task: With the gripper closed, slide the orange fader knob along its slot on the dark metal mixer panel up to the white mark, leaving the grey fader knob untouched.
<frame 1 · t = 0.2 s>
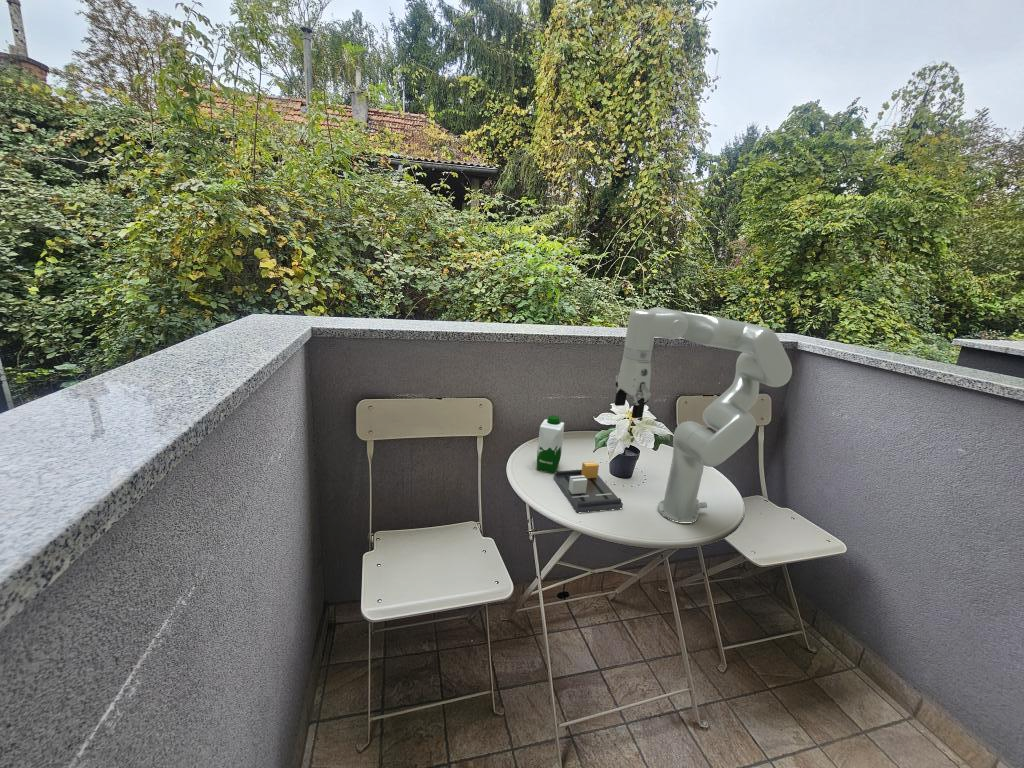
hand: (627, 411, 128), 36 cm above the table, tool pointing down, fingers open, 9 cm apart
milk carton: (547, 468, 169), on the table
fader a: (589, 469, 159), point 5 cm above the table, slide at 0.0 cm
panel: (586, 492, 153), on the table
fader b: (577, 484, 149), point 5 cm above the table, slide at 9.0 cm
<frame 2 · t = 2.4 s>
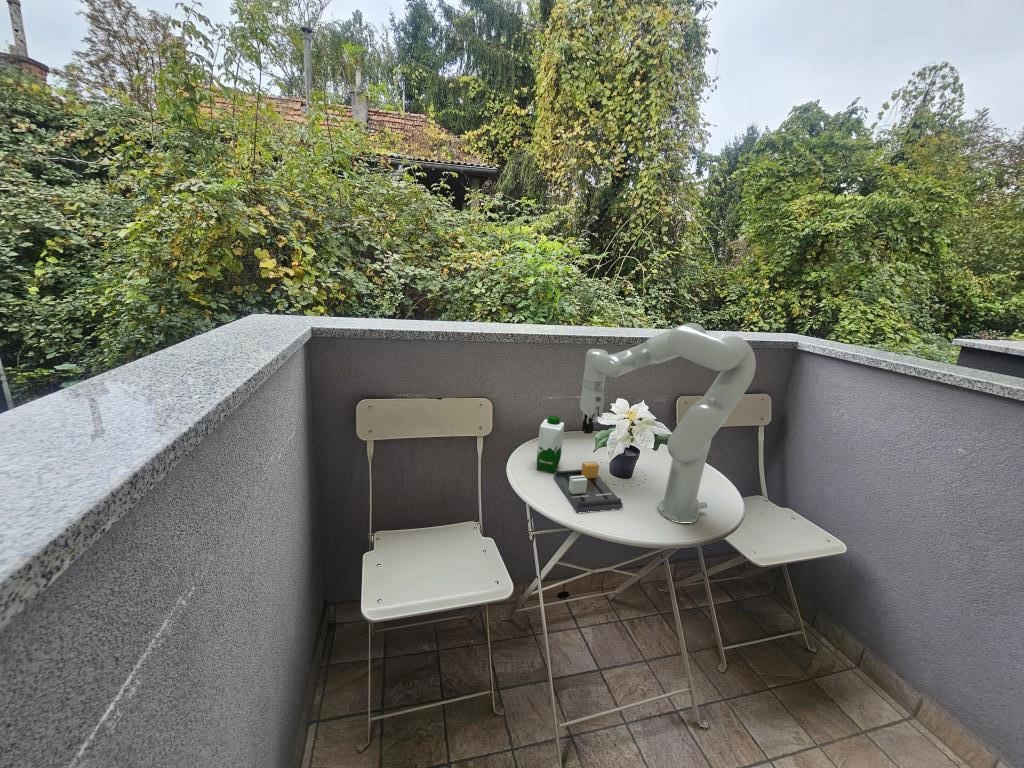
hand: (587, 431, 161), 17 cm above the table, tool pointing down, fingers closed
nothing on the table moved.
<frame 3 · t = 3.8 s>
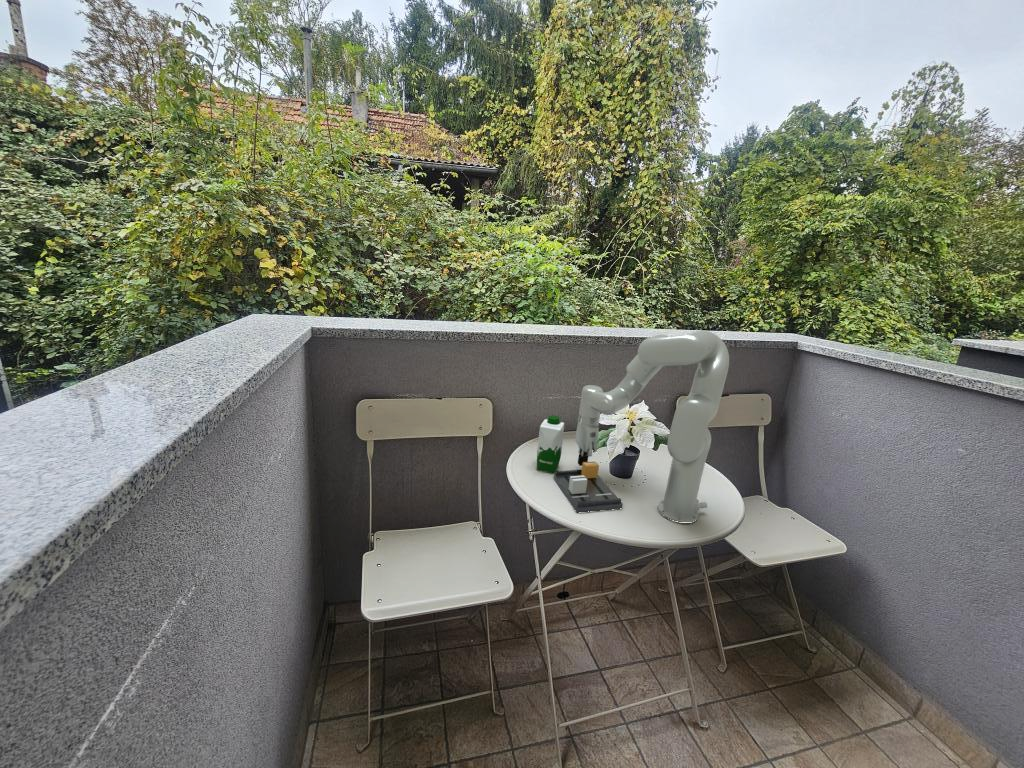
hand: (582, 464, 165), 4 cm above the table, tool pointing down, fingers closed
nothing on the table moved.
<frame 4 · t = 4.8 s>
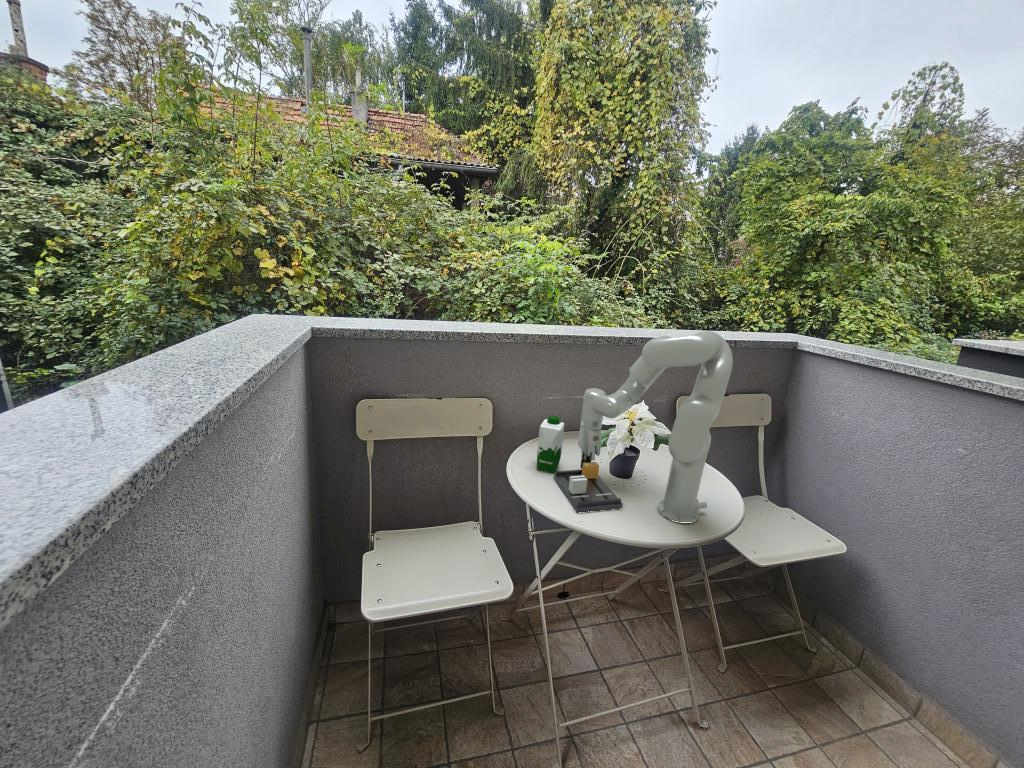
hand: (585, 468, 163), 3 cm above the table, tool pointing down, fingers closed
fader a: (590, 470, 159), point 5 cm above the table, slide at 0.3 cm, touching gripper
everything else where it was.
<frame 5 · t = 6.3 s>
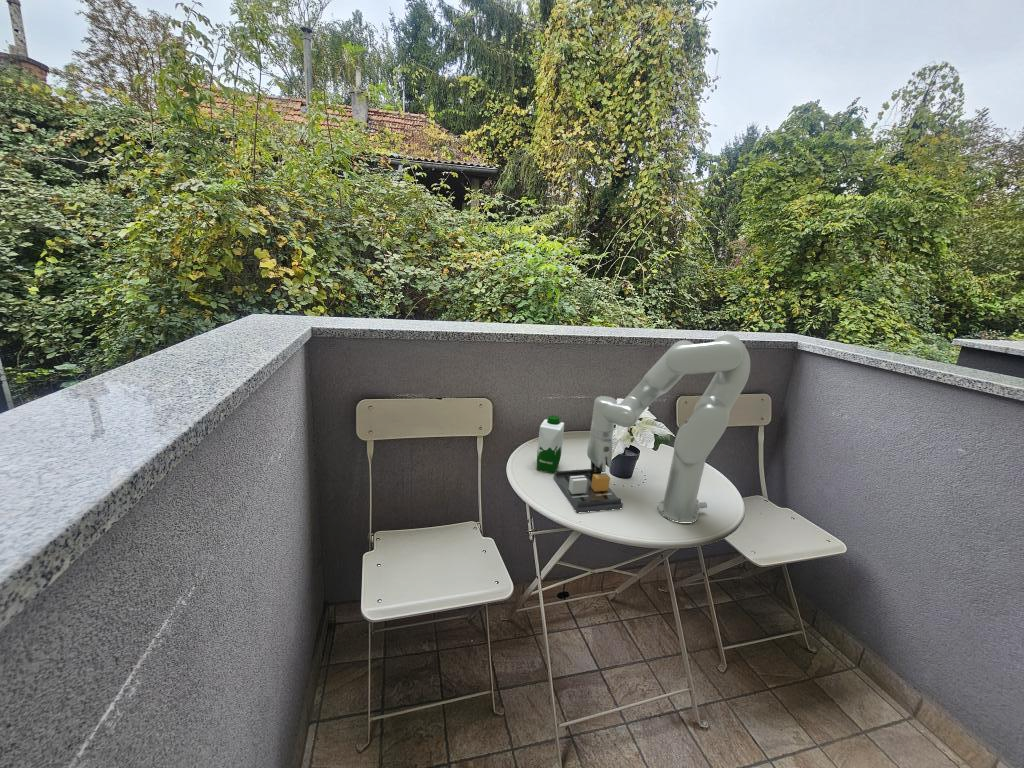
hand: (594, 480, 155), 3 cm above the table, tool pointing down, fingers closed
fader a: (600, 482, 151), point 5 cm above the table, slide at 8.7 cm, touching gripper
everything else where it was.
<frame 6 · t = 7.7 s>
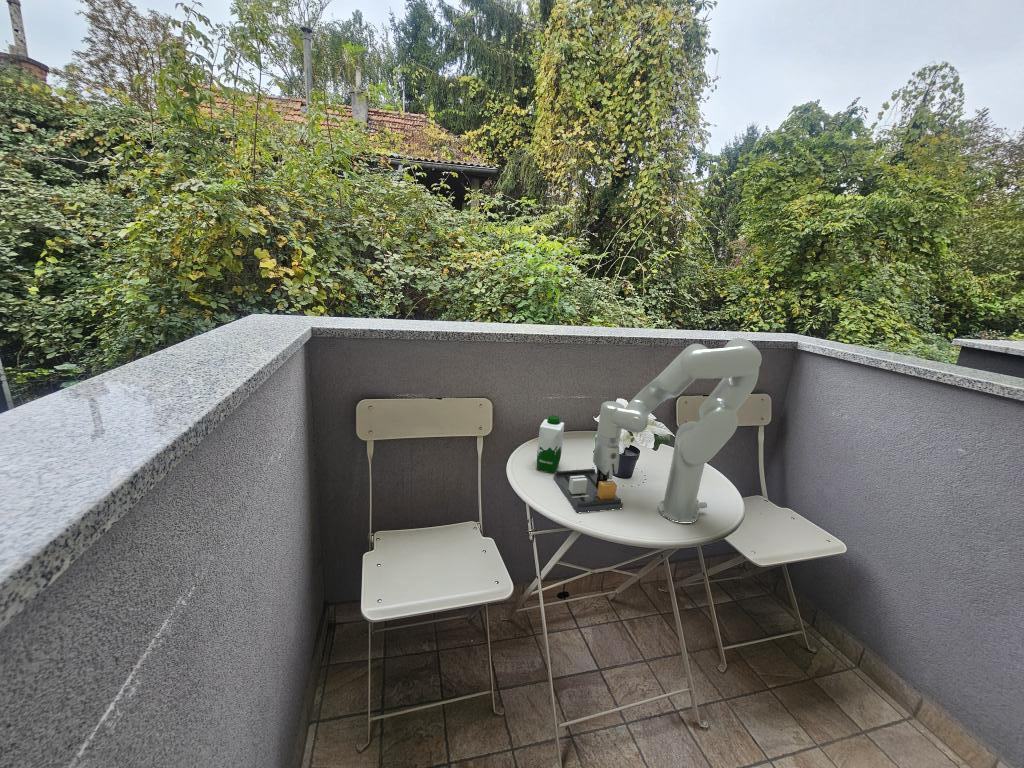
hand: (600, 487, 151), 3 cm above the table, tool pointing down, fingers closed
fader a: (606, 489, 147), point 5 cm above the table, slide at 13.6 cm, touching gripper
everything else where it was.
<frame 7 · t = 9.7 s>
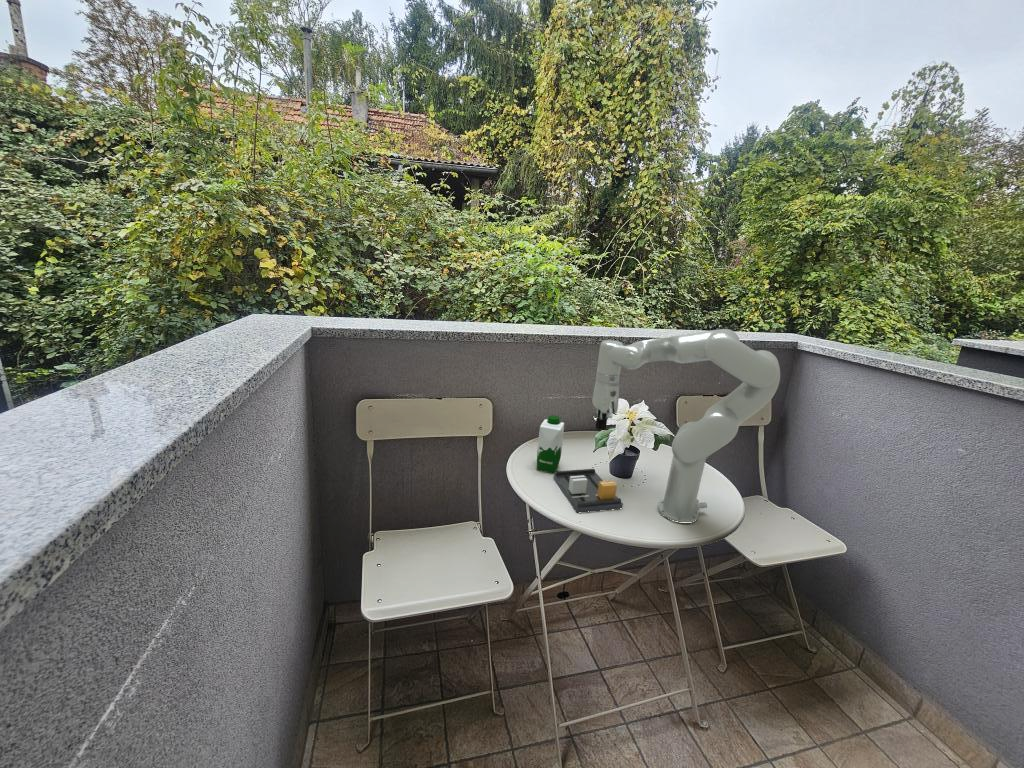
hand: (600, 428, 152), 22 cm above the table, tool pointing down, fingers closed
fader a: (607, 489, 147), point 5 cm above the table, slide at 13.6 cm
everything else where it was.
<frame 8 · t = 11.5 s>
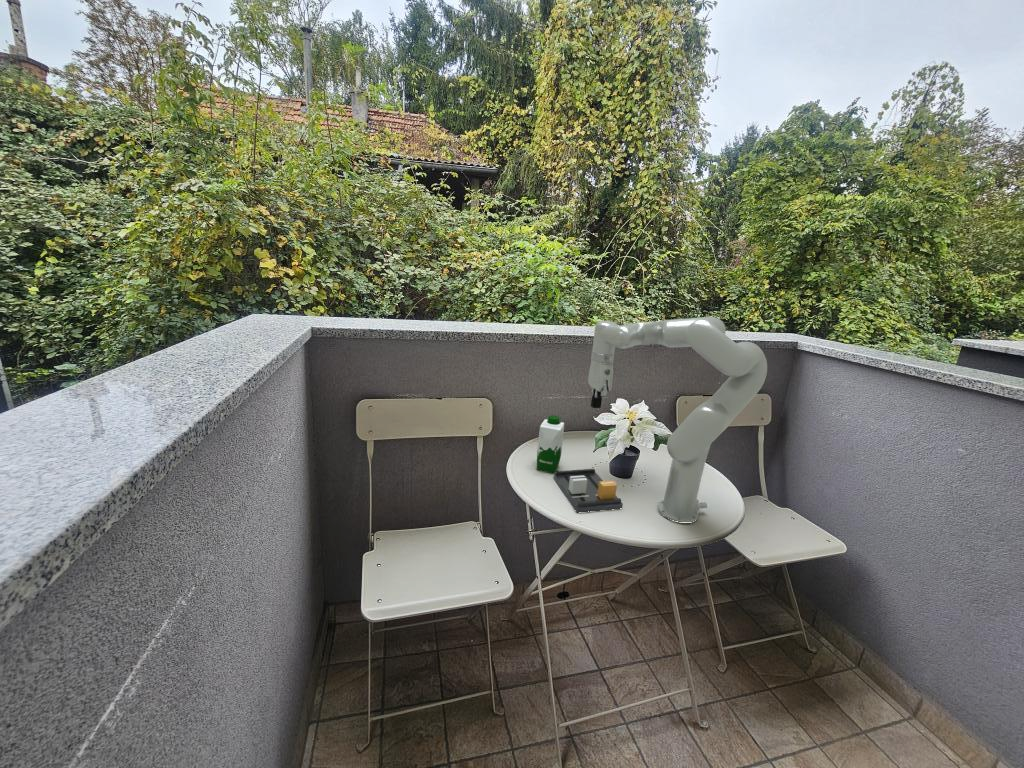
hand: (595, 407, 157), 27 cm above the table, tool pointing down, fingers closed
nothing on the table moved.
at the end: fader a slide at 13.6 cm; fader b slide at 9.0 cm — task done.
